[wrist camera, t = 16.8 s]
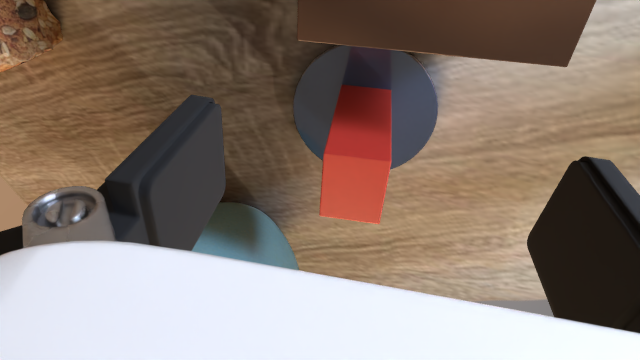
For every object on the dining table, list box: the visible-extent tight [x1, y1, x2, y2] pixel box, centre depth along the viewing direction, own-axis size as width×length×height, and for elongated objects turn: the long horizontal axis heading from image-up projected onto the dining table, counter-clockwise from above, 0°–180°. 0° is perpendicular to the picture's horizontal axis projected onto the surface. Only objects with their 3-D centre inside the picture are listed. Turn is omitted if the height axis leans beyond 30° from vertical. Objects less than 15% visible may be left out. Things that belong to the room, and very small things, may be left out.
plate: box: [293, 45, 438, 169], centre depth 33 cm, size 12×12×1 cm
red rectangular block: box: [319, 85, 391, 224], centre depth 28 cm, size 5×4×10 cm
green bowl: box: [192, 202, 299, 270], centre depth 39 cm, size 18×18×12 cm
